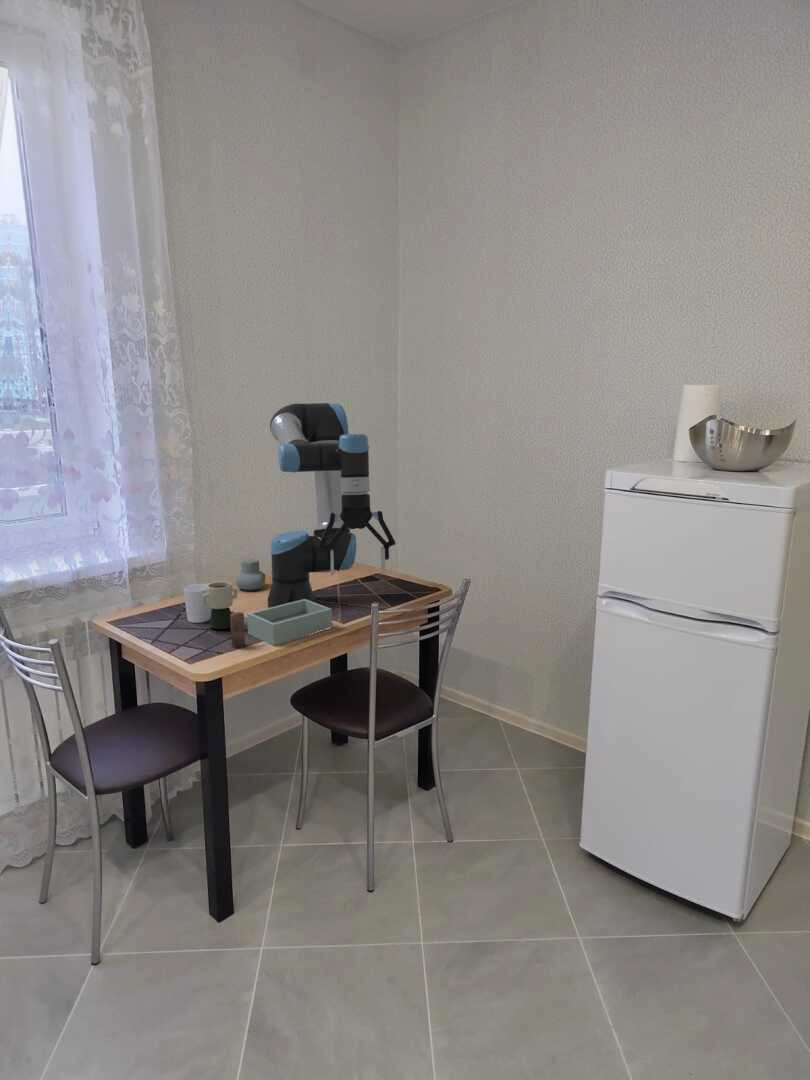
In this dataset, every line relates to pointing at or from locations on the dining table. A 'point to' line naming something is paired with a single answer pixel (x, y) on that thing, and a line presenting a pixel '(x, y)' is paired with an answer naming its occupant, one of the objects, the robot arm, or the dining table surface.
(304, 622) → the box
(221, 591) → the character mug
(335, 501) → the robot arm
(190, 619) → the white cup
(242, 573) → the air freshener
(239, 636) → the peg
